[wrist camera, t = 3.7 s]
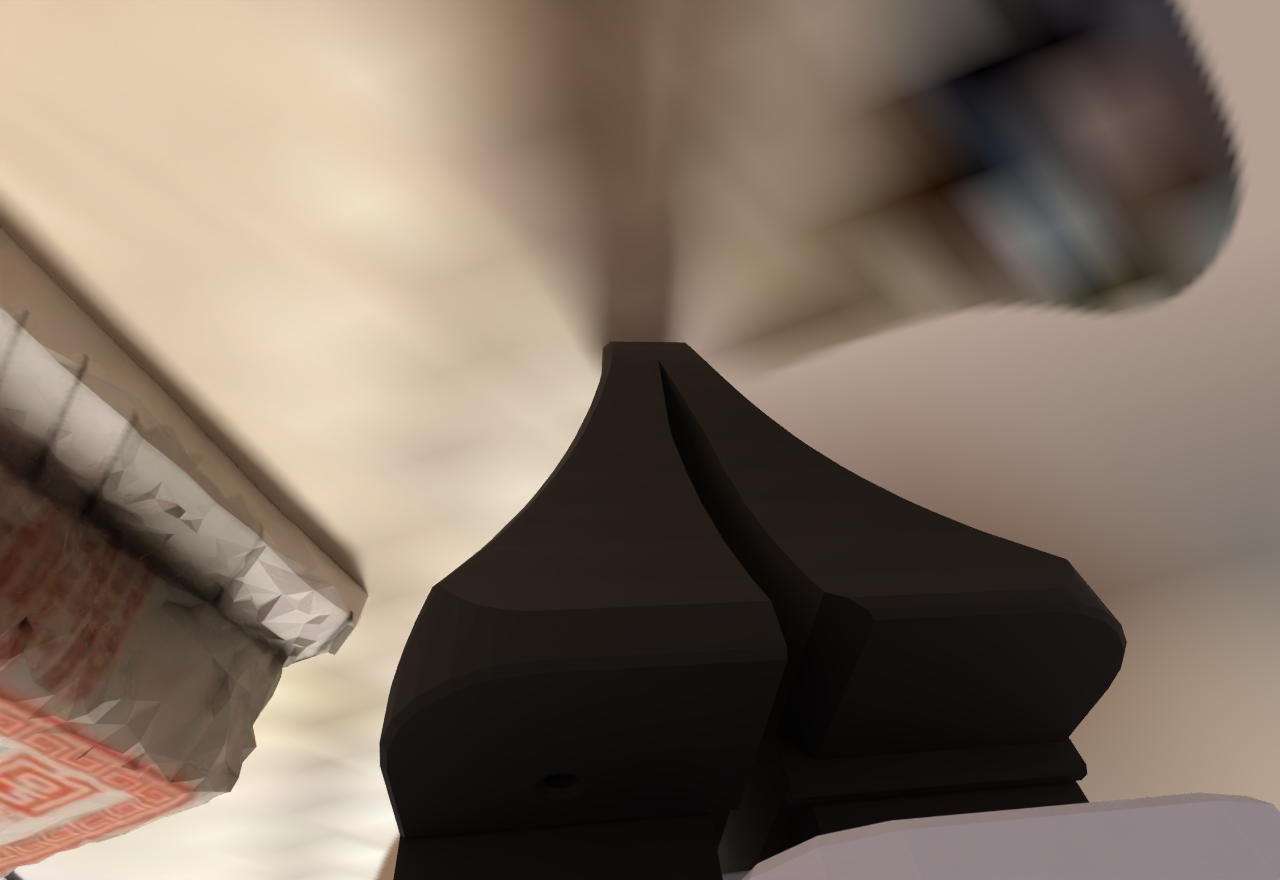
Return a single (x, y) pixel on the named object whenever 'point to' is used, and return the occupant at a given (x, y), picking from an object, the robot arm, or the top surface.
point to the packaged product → (130, 588)
